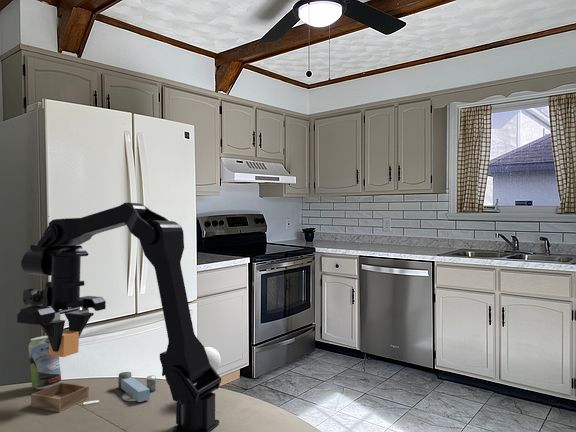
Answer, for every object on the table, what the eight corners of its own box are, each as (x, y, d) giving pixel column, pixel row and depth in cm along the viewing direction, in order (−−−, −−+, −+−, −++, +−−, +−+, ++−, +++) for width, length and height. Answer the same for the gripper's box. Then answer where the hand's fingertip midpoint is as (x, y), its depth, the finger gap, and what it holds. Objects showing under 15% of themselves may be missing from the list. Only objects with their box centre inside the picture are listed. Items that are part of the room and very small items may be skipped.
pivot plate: (155, 393, 100) (155, 392, 100) (138, 403, 94) (138, 401, 94) (134, 389, 102) (134, 388, 102) (115, 399, 97) (115, 398, 97)
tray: (88, 398, 97) (88, 386, 97) (59, 412, 90) (59, 399, 90) (61, 393, 100) (61, 382, 100) (30, 406, 92) (31, 394, 92)
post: (157, 389, 102) (157, 376, 102) (152, 392, 101) (152, 378, 101) (150, 388, 103) (150, 375, 103) (144, 391, 101) (144, 377, 101)
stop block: (63, 357, 93) (64, 335, 93) (49, 355, 94) (49, 334, 94) (78, 352, 97) (78, 331, 97) (64, 350, 98) (64, 330, 98)
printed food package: (48, 393, 100) (49, 340, 100) (20, 390, 102) (21, 338, 102) (67, 383, 106) (68, 333, 107) (41, 381, 108) (41, 332, 108)
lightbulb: (219, 390, 102) (219, 342, 102) (221, 400, 96) (222, 349, 96) (192, 393, 100) (192, 344, 100) (193, 403, 94) (193, 351, 95)
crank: (151, 399, 96) (151, 385, 96) (136, 402, 94) (137, 389, 94) (129, 383, 106) (129, 370, 106) (116, 386, 104) (116, 373, 104)
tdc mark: (98, 400, 96) (98, 400, 96) (98, 402, 95) (98, 401, 95) (83, 403, 94) (83, 402, 94) (83, 405, 93) (83, 404, 93)
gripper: (71, 271, 107) (69, 335, 107) (-2, 279, 90) (-4, 356, 90) (107, 273, 104) (106, 340, 103) (39, 282, 86) (37, 362, 86)
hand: (64, 348), depth 96 cm, fingers closed on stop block, 4 cm apart
